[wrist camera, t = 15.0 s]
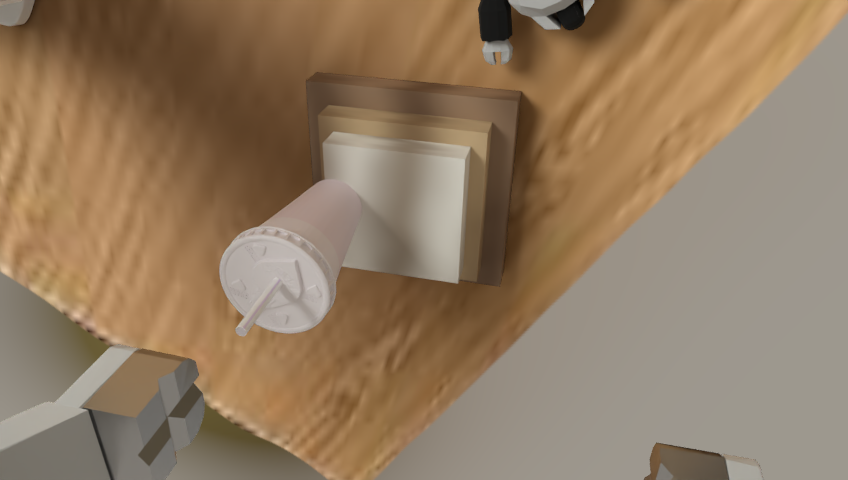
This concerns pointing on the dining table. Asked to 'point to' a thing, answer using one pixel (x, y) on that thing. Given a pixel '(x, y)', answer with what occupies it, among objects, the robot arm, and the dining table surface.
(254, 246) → the smoothie
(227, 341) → the dining table surface
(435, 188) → the square stepped pedestal
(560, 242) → the dining table surface
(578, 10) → the robot toy
